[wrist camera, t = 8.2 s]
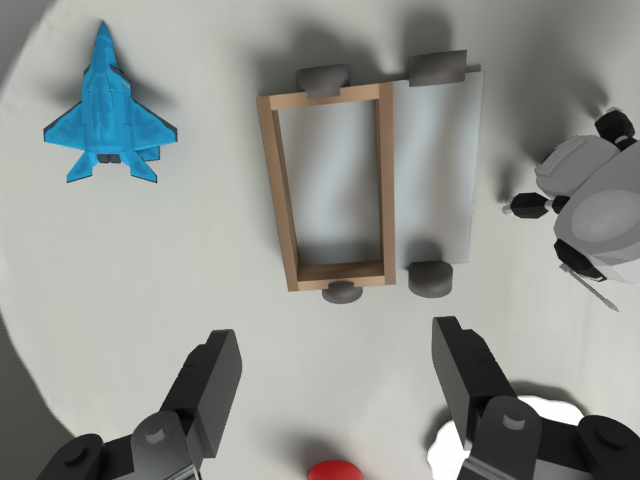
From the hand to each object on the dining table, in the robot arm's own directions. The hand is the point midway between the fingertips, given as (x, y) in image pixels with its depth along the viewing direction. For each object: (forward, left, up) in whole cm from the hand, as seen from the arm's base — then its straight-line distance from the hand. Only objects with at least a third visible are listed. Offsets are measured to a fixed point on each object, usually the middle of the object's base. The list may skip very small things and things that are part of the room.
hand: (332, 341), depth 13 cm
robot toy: (-19, -1, -21) cm, 28 cm away
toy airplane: (+13, -7, -21) cm, 25 cm away
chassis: (-4, 0, -21) cm, 21 cm away
